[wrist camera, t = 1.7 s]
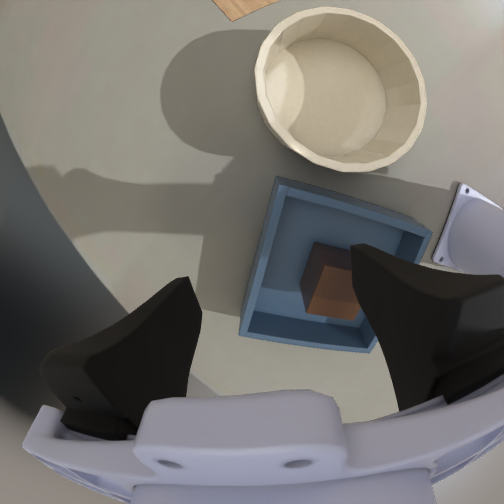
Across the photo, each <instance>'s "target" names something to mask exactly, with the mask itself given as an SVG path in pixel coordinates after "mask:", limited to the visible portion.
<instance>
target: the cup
mask: <svg viewBox="0 0 504 504" xmlns="http://www.w3.org/2000/svg"><path fill="white" fill-rule="evenodd" d="M254 74H255V85H256V95H257V105H258V109H259V111H260V113H261V116H262V118H263V120H264V122H265V124H266V126H267V128H268V129H269V130H270V131H271V133H272V134H273V135H274V136H275V137H276V138H277V139H278V140H279V141H280V143H281V144H282V145H284V146H286V147H287V148H289V149H290V150H292V151H293V152H295V153H297V154H298V155H300V156H301V157H303V158H305V159H307V160H309V161H310V162H312V163H314V164H317V165H320V166H324V167H327V168H330V169H333V170H337V171H340V172H370V171H373V170H376V169H379V168H381V167H384V166H387V165H390V164H392V163H393V162H395V161H396V160H397V159H398V158H400V157H401V156H402V155H403V154H405V153H406V152H407V151H408V150H409V149H410V148H411V147H412V145H413V144H414V142H415V140H416V139H417V137H418V135H419V134H420V132H421V130H422V127H423V123H424V118H425V113H426V108H427V102H426V91H425V83H424V79H423V77H422V74H421V72H420V69H419V67H418V64H417V62H416V60H415V58H414V56H413V55H412V53H411V52H410V51H409V49H408V48H407V47H406V46H405V44H404V43H403V42H402V40H401V39H400V38H399V37H398V36H397V35H396V34H394V33H393V32H392V31H391V30H389V29H388V28H387V27H385V26H384V25H383V24H381V23H380V22H379V21H377V20H376V19H373V18H371V17H369V16H366V15H364V14H361V13H359V12H356V11H354V10H351V9H344V8H335V7H318V8H313V9H308V10H303V11H299V12H297V13H295V14H293V15H291V16H290V17H288V18H286V19H285V20H283V21H281V22H280V23H278V24H277V25H276V26H275V27H274V28H273V30H272V31H271V32H270V33H269V35H268V36H267V37H266V39H265V40H264V41H263V43H262V44H261V46H260V50H259V54H258V57H257V61H256V65H255V68H254Z"/></svg>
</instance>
